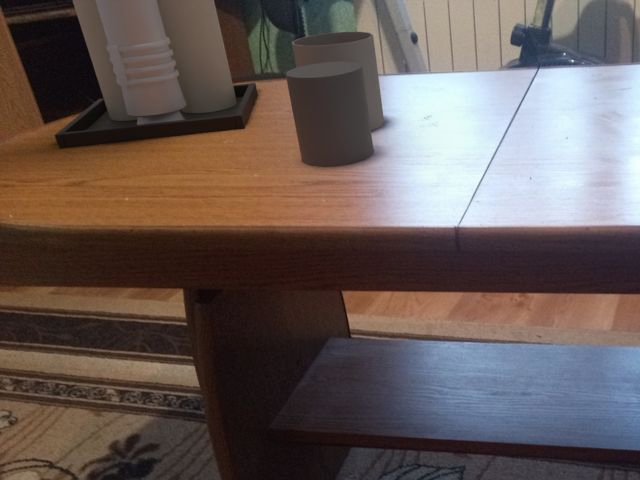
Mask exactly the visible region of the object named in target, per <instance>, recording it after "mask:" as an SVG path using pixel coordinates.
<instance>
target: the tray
mask: <svg viewBox="0 0 640 480" xmlns="http://www.w3.org/2000/svg"><path fill="white" fill-rule="evenodd" d="M233 87H234V92H235V96H236V101H237V104H236V105H235V106H233V107H230V108H228V109H224V110H220V111H215V112H208V113H185V112H183V111H182V109H181V110H179V112H180V113H181V114H182V116H183V117H184V118H185V120H178V121H168V122H159V123H149V124H140V125H137V120H132V121H115V120H111V119H110V117H109V114H108V110H107V107H106V104H105V101H104V98H102V97H101V98H98V99H97V100H96V101H94V102H93V103H92V104H91V105H90V106H88V107H86V109H85V110H83V111H82V112H81V113H80V114H79V115H77V116H76V117H75V118H74V119H72V120H71V121H70V122H69V123H68V124H66V125H65V126H63V127H62V128H61V129H60V130H59V131H58V132H56V133H55V134H54V139H55V140H56V144H57V146H58V148H59V149H70V148H71V149H72V148H79V147H88V146H97V145H98V146H99V145H106V144H107V145H108V144H117V143H127V142H135V141H144V140H152V139H163V138H170V137H180V136H190V135H200V134H209V133H218V132H226V131H237V130H244V129H245V128H246V127H247V123H248V121H249V118H250V115H251V113H252V111H253V108H254V105H255V103H256V100H257V97H258V95H259V94H258V90H257V84H256V82H250V83H241V84H239V83H238V84H233Z"/></svg>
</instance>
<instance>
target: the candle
mask: <svg viewBox="0 0 640 480" xmlns="http://www.w3.org/2000/svg"><path fill="white" fill-rule="evenodd" d="M95 1H96V4H97V7H98V11H99V14H100V17H101V21H102V24H103V27H104V31H105V34H106V37H107V40H108V45H107V51H108V52H109V53H110V61H111V62H112V63H113V66H114V68H113V71H114V73H116V76H117V79H116V81H117V84H119V86H121V88H122V93H123V97H124V102H125V106H126V111H127V114H128V115H130V116H134V117H138V120H137V125H140V124H149V123H159V122H168V121H178V120H185V118H184V117H183V116H182V114H181V113H180V112H179V110H181V109H183V108H185V106H186V102H185V99H184V97H183V94H182V91H181V88H180V85H179V82H178V79H177V76H179V73H178V70H177V69H175V68H174V66H175V65H176V61H175V60H174V59H173V58H172V57H171V56H172V55H173V50H172V49H171V48H169V46H168V45H169V44H170V43H171V42H170V39H169V38H168V37H166V35H165V31H164V27H163V23H162V19H161V16H160V12H159V8H158V4H157V0H95Z"/></svg>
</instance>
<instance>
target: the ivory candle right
mask: <svg viewBox="0 0 640 480" xmlns="http://www.w3.org/2000/svg"><path fill="white" fill-rule="evenodd" d="M157 4H158V8H159V12H160V16H161V19H162V23H163V27H164V31H165V35H166V37H168V38H169V39H170V42H171V43H170V44H169V45H168V46H169V48H171V49H172V50H173V55H172V56H171V57H172V58H173V59H174V60H175V61H176V65H175V66H174V68H175V69H177V70H178V73H179V76H177V79H178V82H179V85H180V88H181V91H182V94H183V97H184V99H185V102H186V106H185V108H183V109H182V111H183V112H185V113H208V112H215V111H220V110H224V109H228V108H230V107H233V106H235V105H236V104H237V101H236V96H235V92H234V87H233V85H234V84H233V83H234V82H233V79H232V74H231V70H230V65H229V61H228V57H227V56H228V55H227V52H226V48H225V44H224V39H223V35H222V30H221V25H220V21H219V17H218V12H217V8H216V3H215V0H157Z"/></svg>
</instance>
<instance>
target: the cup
mask: <svg viewBox="0 0 640 480" xmlns="http://www.w3.org/2000/svg"><path fill="white" fill-rule="evenodd" d="M291 46H292V50H293V56H294V62H295V66H296V67H295V68H297V67H301V66H305V65H310V64H317V63H326V62H355V63H359V64H361V65H362V68H363V75H364V83H365V90H366V98H367V105H368V112H369V120H370V127H371V132H373V131H375V130H377V129H380V128H381V127H383V125H384V124H385V118H384V117H385V116H384V111H383V101H382V95H381V86H380V78H379V70H378V69H379V68H378V62H377V55H376V46H375V39H374V34H373V33H371V32H366V31H338V32H327V33H320V34H314V35H308V36H303V37H301V38H297V39H295V40H293V41H291Z"/></svg>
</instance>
